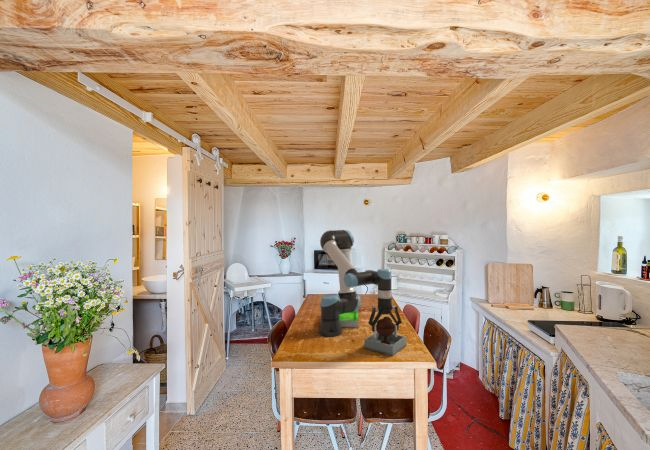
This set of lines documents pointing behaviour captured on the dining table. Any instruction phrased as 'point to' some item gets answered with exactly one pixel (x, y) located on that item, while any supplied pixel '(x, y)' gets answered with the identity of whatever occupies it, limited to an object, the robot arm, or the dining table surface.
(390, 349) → the charcoal tray
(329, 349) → the dining table surface
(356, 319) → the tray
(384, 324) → the ice cream bowl
